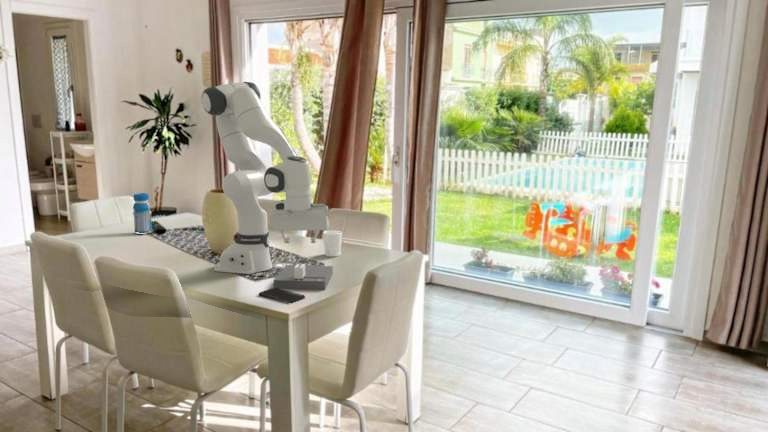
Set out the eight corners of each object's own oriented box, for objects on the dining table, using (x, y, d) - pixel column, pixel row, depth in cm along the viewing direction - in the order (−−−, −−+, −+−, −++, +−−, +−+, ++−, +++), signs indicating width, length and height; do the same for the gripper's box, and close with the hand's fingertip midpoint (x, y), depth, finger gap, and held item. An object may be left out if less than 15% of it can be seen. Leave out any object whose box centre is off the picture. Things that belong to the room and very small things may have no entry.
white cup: (339, 257, 244) (338, 234, 242) (321, 256, 246) (321, 233, 244) (344, 253, 252) (343, 230, 250) (326, 252, 253) (326, 230, 251)
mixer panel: (273, 288, 201) (273, 279, 201) (286, 272, 221) (286, 264, 220) (325, 289, 200) (324, 281, 200) (332, 273, 220) (332, 265, 219)
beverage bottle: (141, 236, 282) (138, 195, 278) (130, 234, 286) (128, 194, 283) (156, 233, 289) (153, 193, 285) (145, 231, 293) (143, 192, 290)
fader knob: (294, 278, 202) (294, 267, 201) (297, 274, 207) (297, 263, 206) (302, 278, 202) (302, 267, 201) (305, 274, 206) (305, 263, 206)
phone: (273, 287, 200) (306, 295, 191) (273, 290, 200) (306, 298, 192) (256, 293, 193) (289, 301, 185) (257, 296, 193) (289, 305, 185)
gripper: (329, 202, 202) (330, 240, 204) (272, 202, 203) (274, 240, 205) (327, 205, 196) (328, 244, 198) (267, 205, 197) (269, 244, 199)
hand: (300, 242), depth 202 cm, fingers open, 8 cm apart
